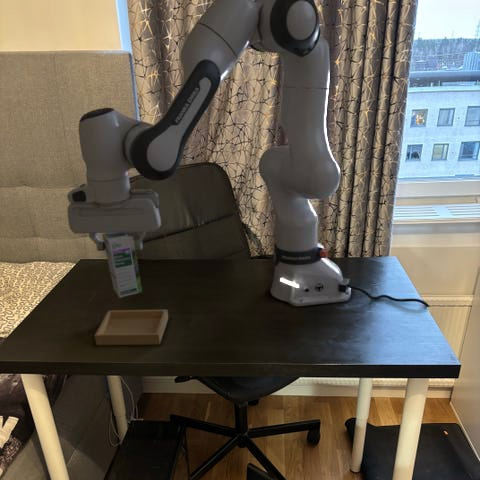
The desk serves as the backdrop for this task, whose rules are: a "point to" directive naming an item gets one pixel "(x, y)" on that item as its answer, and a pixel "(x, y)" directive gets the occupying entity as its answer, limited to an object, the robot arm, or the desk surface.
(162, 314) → the tray
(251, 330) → the desk surface
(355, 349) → the desk surface
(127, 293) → the syrup box
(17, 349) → the desk surface
